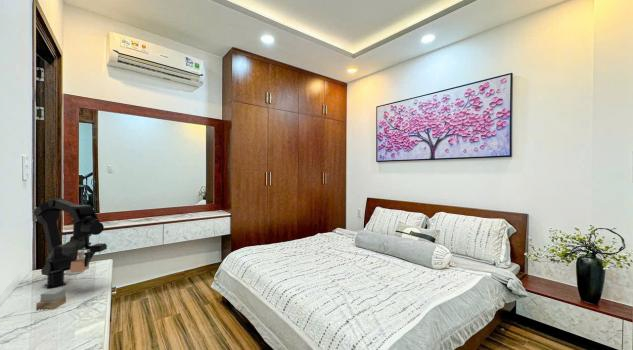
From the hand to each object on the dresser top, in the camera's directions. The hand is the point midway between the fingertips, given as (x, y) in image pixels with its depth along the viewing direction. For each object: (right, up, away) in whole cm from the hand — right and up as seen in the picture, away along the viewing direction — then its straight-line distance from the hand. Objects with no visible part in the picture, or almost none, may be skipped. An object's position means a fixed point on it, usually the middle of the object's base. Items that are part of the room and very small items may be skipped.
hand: (80, 266), depth 120 cm
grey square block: (+2, -8, -14) cm, 16 cm away
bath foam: (-22, -11, +21) cm, 32 cm away
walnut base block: (+2, -11, -15) cm, 18 cm away
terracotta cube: (0, -2, 0) cm, 2 cm away
